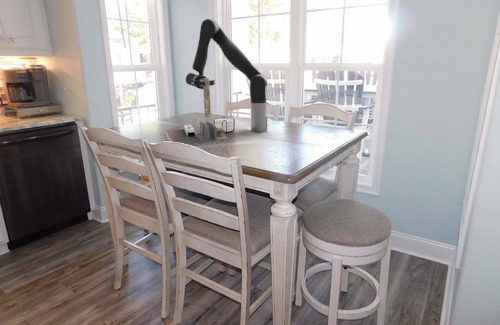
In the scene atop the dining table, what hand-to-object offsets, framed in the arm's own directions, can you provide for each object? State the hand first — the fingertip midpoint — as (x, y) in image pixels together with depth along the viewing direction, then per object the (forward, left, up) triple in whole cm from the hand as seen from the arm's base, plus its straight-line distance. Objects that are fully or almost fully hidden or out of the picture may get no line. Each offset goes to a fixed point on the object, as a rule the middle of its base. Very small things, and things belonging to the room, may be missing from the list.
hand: (206, 83), depth 169 cm
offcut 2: (-6, -5, -27) cm, 28 cm away
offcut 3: (-6, -5, -28) cm, 29 cm away
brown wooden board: (0, -2, -17) cm, 17 cm away
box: (+8, -11, -31) cm, 34 cm away
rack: (-2, -3, -30) cm, 30 cm away
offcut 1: (-6, -6, -25) cm, 27 cm away
